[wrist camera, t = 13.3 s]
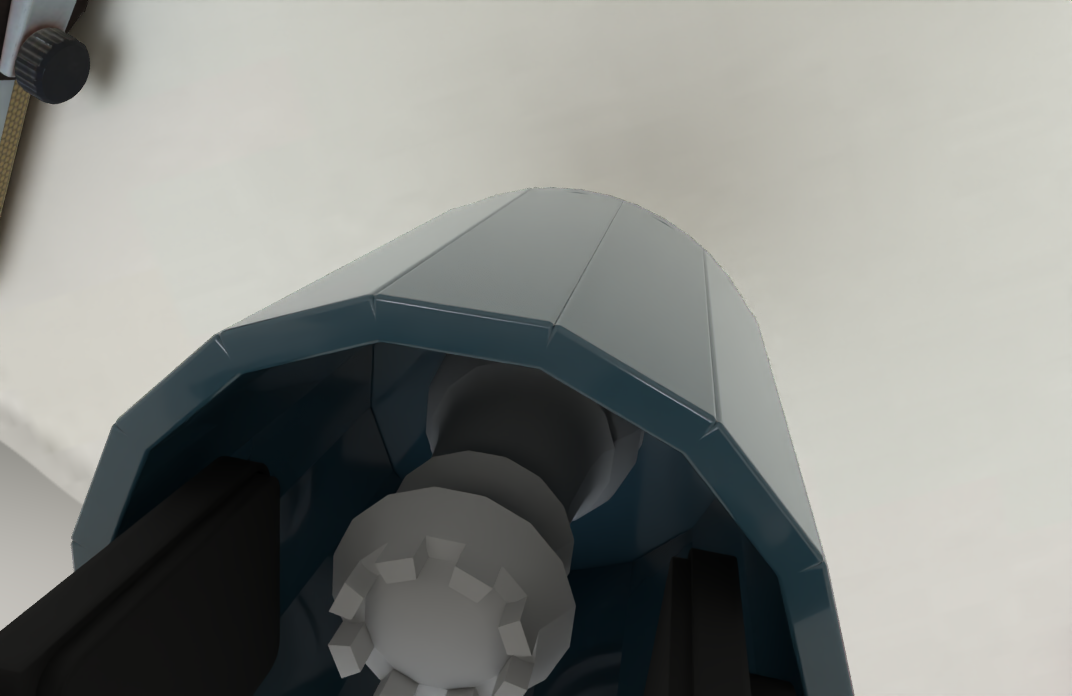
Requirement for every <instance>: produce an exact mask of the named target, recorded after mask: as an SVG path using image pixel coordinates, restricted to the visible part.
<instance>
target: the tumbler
mask: <svg viewBox="0 0 1072 696" xmlns="http://www.w3.org/2000/svg"><path fill="white" fill-rule="evenodd" d="M446 354H452V355H458V356H464V357H470V358H475V359H481V360H487V361H493V362H499V363H505V364H510V365H516V366H522V367H528V368H534V369H539V370H541V371H543V372H544V373H546V374H548V375H550V376H551V377H553V378H555V379H556V380H558V381H560V382H561V383H563V384H565V385H566V386H568V387H570V388H572V389H573V390H575V391H577V392H578V393H580V394H582V395H583V396H585V397H587V398H588V399H590V400H592V401H594V402H595V403H597V404H599V405H600V406H602V407H604V408H605V409H607V410H609V411H610V412H612V413H614V414H615V415H617V416H619V417H621V418H622V419H624V420H626V421H627V422H629V423H631V424H632V425H634V426H636V427H637V428H639V429H641V430H643V431H644V436H643V441H642V445H641V447H640V448H639V450H638V454H637V460H636V463H635V465H634V466H633V468H632V469H631V471H630V472H629V473H628V475H627V476H626V478H625V479H624V481H623V482H622V483H621V485H620V486H619V488H618V489H617V491H616V492H615V494H614V495H613V496H612V497H611V498H610V499H609V500H608V501H607V502H605V503H603V504H602V505H600V506H598V507H597V508H595V509H593V510H592V511H590V512H588V513H587V514H585V515H584V516H582V517H580V518H579V519H577V520H575V521H572V522H571V523H570V528H571V531H572V534H573V538H574V546H573V553H572V559H571V566H570V573H569V574H568V576H567V578H568V582H569V585H570V588H571V591H572V595H573V598H574V601H575V604H576V608H575V615H574V621H573V628H572V634H571V641H570V647H569V648H568V650H567V651H566V652H565V654H564V655H563V657H562V658H561V659H560V661H559V662H558V663H557V665H556V666H555V667H554V669H553V670H552V671H551V673H550V674H549V675H548V677H547V678H546V679H545V680H544V681H542V682H540V683H538V684H536V685H534V686H532V687H530V688H528V689H527V691H526V693H525V694H524V695H523V696H644V691H645V686H646V681H647V676H648V671H649V666H650V661H651V656H652V651H653V646H654V641H655V636H656V631H657V626H658V621H659V616H660V611H661V606H662V601H663V596H664V591H665V586H666V581H667V576H668V571H669V566H670V561H671V558H672V556H675V557H680V558H685V559H688V555H689V551H690V549H691V548H696V549H701V550H706V551H711V552H716V553H721V554H727V555H732V556H735V557H737V562H738V572H739V581H740V591H741V601H742V610H743V620H744V630H745V639H746V649H747V658H748V668H749V673H752V674H757V675H762V676H766V677H771V678H776V679H780V680H785V681H789V682H791V683H792V684H793V686H794V688H795V692H796V695H797V696H855V695H854V690H853V685H852V681H851V676H850V671H849V666H848V661H847V656H846V652H845V647H844V642H843V637H842V632H841V627H840V622H839V618H838V613H837V608H836V603H835V598H834V593H833V588H832V584H831V579H830V574H829V569H828V565H827V561H826V558H825V554H824V551H823V547H822V544H821V540H820V537H819V533H818V530H817V526H816V523H815V519H814V516H813V512H812V509H811V505H810V502H809V498H808V495H807V491H806V488H805V484H804V481H803V477H802V474H801V470H800V467H799V463H798V460H797V456H796V453H795V449H794V446H793V442H792V439H791V435H790V432H789V429H788V425H787V422H786V418H785V415H784V411H783V408H782V404H781V401H780V397H779V394H778V390H777V387H776V383H775V380H774V376H773V373H772V369H771V366H770V362H769V359H768V355H767V352H766V348H765V345H764V341H763V338H762V334H761V331H760V327H759V324H758V322H757V320H756V317H755V316H754V315H753V313H752V312H751V310H750V309H749V308H748V306H747V305H746V302H745V301H744V299H743V297H742V296H741V294H740V293H739V291H738V289H737V288H736V286H735V285H734V283H733V282H732V280H731V278H730V277H729V276H728V274H727V273H726V272H725V271H724V270H723V269H722V267H721V266H720V265H719V264H718V263H717V261H716V260H715V259H714V258H713V257H712V256H711V254H709V253H708V252H707V250H705V249H704V248H703V247H702V246H701V245H699V244H698V243H697V242H696V241H695V240H694V239H693V238H692V237H691V236H690V235H688V234H687V233H685V232H684V231H682V230H681V229H679V228H678V227H676V226H675V225H674V224H672V223H671V222H669V221H668V220H666V219H665V218H663V217H661V216H659V215H657V214H655V213H653V212H651V211H649V210H647V209H645V208H643V207H641V206H639V205H637V204H634V203H631V202H628V201H625V200H622V199H620V198H617V197H614V196H611V195H606V194H602V193H597V192H592V191H587V190H582V189H570V188H556V187H549V188H537V187H535V188H527V189H522V190H517V191H512V192H507V193H502V194H497V195H494V196H491V197H488V198H485V199H483V200H480V201H477V202H474V203H471V204H468V205H464V206H461V207H457V208H453V209H450V210H448V211H447V212H444V213H443V214H441V215H439V216H437V217H435V218H433V219H431V220H429V221H428V222H426V223H424V224H422V225H420V226H418V227H416V228H414V229H412V230H411V231H409V232H407V233H405V234H403V235H401V236H399V237H397V238H395V239H394V240H392V241H390V242H388V243H386V244H384V245H382V246H380V247H379V248H377V249H375V250H373V251H371V252H369V253H367V254H365V255H363V256H362V257H360V258H358V259H356V260H354V261H352V262H350V263H348V264H346V265H345V266H343V267H341V268H339V269H337V270H335V271H333V272H331V273H330V274H328V275H326V276H324V277H322V278H320V279H318V280H316V281H314V282H313V283H311V284H309V285H307V286H305V287H303V288H301V289H299V290H297V291H296V292H294V293H292V294H290V295H288V296H286V297H284V298H282V299H281V300H279V301H277V302H275V303H273V304H271V305H269V306H267V307H265V308H264V309H262V310H260V311H258V312H256V313H254V314H252V315H250V316H248V317H247V318H245V319H243V320H241V321H239V322H237V323H235V324H233V325H232V326H230V327H228V328H226V329H224V330H222V331H220V332H218V333H216V334H215V335H213V336H212V337H211V338H210V339H209V340H207V341H206V342H205V343H204V344H203V345H202V346H201V347H199V348H198V349H197V350H196V351H195V352H194V353H193V354H191V355H190V356H189V357H188V358H187V359H186V360H185V361H183V362H182V363H181V364H180V365H179V366H178V367H176V368H175V369H174V370H173V371H172V372H171V373H170V374H168V375H167V376H166V377H165V378H164V379H163V380H162V381H160V382H159V383H158V384H157V385H156V386H155V387H153V388H152V389H151V390H150V391H149V392H148V393H147V394H145V395H144V396H143V397H142V398H141V399H140V400H139V401H137V402H136V403H135V404H134V405H133V406H132V407H131V408H129V409H128V410H127V411H126V412H125V413H124V414H122V415H121V416H120V417H119V418H118V419H117V421H116V423H115V424H114V425H113V426H112V428H111V430H110V433H109V436H108V439H107V441H106V444H105V447H104V449H103V452H102V455H101V458H100V460H99V463H98V466H97V468H96V471H95V474H94V477H93V479H92V482H91V485H90V488H89V490H88V493H87V496H86V498H85V501H84V504H83V507H82V509H81V512H80V515H79V517H78V520H77V523H76V526H75V528H74V531H73V534H72V537H71V539H72V540H73V541H72V543H71V549H72V559H73V569H74V572H75V571H76V570H77V569H79V568H80V567H81V566H82V565H84V564H85V563H86V562H87V561H89V560H90V559H91V558H92V557H94V556H95V555H96V554H97V553H99V552H100V551H101V550H102V549H104V548H105V547H106V546H107V545H109V544H110V543H111V542H112V541H114V540H115V539H116V538H117V537H119V536H120V535H121V534H122V533H124V532H125V531H126V530H127V529H129V528H130V527H131V526H132V525H134V524H135V523H136V522H137V521H139V520H140V519H141V518H142V517H144V516H145V515H146V514H147V513H149V512H150V511H151V510H152V509H154V508H155V507H156V506H157V505H159V504H160V503H161V502H162V501H164V500H165V499H166V498H167V497H169V496H170V495H171V494H172V493H174V492H175V491H176V490H177V489H179V488H180V487H181V486H182V485H184V484H185V483H186V482H187V481H189V480H190V479H191V478H192V477H194V476H195V475H196V474H197V473H199V472H200V471H201V470H202V469H204V468H205V467H206V466H207V465H209V464H210V463H211V462H212V461H214V460H215V459H216V458H218V457H220V456H230V457H235V458H240V459H245V460H250V461H255V462H260V463H264V464H265V465H266V466H267V467H268V470H269V474H270V476H274V477H276V478H277V479H278V481H279V484H280V643H279V649H278V654H277V657H276V660H275V662H274V664H273V666H272V668H271V670H270V671H269V673H268V674H267V676H266V677H265V679H264V680H263V681H262V683H261V684H260V686H259V687H258V689H257V690H256V691H255V693H254V694H253V696H373V695H374V693H375V691H376V689H377V687H378V685H379V683H380V681H381V680H380V679H379V678H378V677H377V676H376V675H375V674H374V672H373V671H372V670H371V669H370V668H369V667H368V666H367V665H366V664H365V665H364V667H363V668H362V670H361V672H359V673H356V674H353V675H350V676H347V677H344V678H341V676H340V673H339V671H338V668H337V666H336V664H335V661H334V659H333V656H332V654H331V651H330V649H329V647H328V644H329V642H330V641H331V639H332V638H333V636H334V635H335V633H336V631H337V630H338V628H339V627H340V625H341V624H342V622H343V620H342V618H341V616H339V615H336V614H334V613H331V612H329V610H330V608H331V606H332V605H333V603H334V598H333V596H332V591H333V555H334V553H335V551H336V549H337V547H338V545H339V544H340V542H341V540H342V538H343V536H344V534H345V532H346V531H347V529H348V527H349V525H350V523H351V521H352V519H354V518H355V517H357V516H358V515H359V514H361V513H362V512H364V511H365V510H367V509H368V508H370V507H371V506H373V505H374V504H375V503H377V502H378V501H380V500H381V499H383V498H384V497H386V496H387V495H390V494H396V492H397V490H398V489H399V487H400V485H401V483H402V481H403V480H404V478H405V476H406V475H408V474H409V473H411V472H412V471H413V470H415V469H416V468H418V467H419V466H421V465H422V464H424V463H425V462H427V461H428V460H429V459H431V457H432V455H433V454H432V451H431V448H430V447H431V446H430V443H429V440H428V437H427V434H426V422H427V408H428V394H429V386H430V384H431V382H432V380H433V378H434V376H435V375H436V373H437V371H438V369H439V367H440V365H441V364H442V362H443V360H444V358H445V356H446Z"/></svg>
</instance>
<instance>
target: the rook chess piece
mask: <svg viewBox="0 0 1072 696" xmlns="http://www.w3.org/2000/svg"><path fill="white" fill-rule="evenodd" d="M426 434H427V437H428V440H429V443H430V446H431V447H430V448H431V451H432V454H433V455H432V457H431V459H429V460H428V461H427V462H425V463H424V464H422V465H421V466H419V467H418V468H416V469H415V470H413V471H412V472H411V473H409V474H408V475H406V476H405V478H404V480H403V481H402V483H401V485H400V487H399V489H398V490H397V492H396V494H390V495H387V496H386V497H384V498H383V499H381V500H380V501H378V502H377V503H375V504H374V505H373V506H371V507H370V508H368V509H367V510H365V511H364V512H362V513H361V514H359V515H358V516H357V517H355V518H354V519H352V521H351V523H350V525H349V527H348V529H347V531H346V532H345V534H344V536H343V538H342V540H341V542H340V544H339V545H338V547H337V549H336V551H335V553H334V555H333V591H332V596H333V598H334V603H333V605H332V606H331V608H330V610H329V612H331V613H334V614H336V615H339V616H341V618H342V620H343V622H342V624H341V625H340V627H339V628H338V630H337V631H336V633H335V635H334V636H333V638H332V639H331V641H330V642H329V644H328V647H329V649H330V651H331V654H332V656H333V659H334V661H335V664H336V666H337V668H338V671H339V673H340V676H341V678H344V677H347V676H350V675H353V674H356V673H359V672H361V670H362V668H363V667H364V665H365V664H366V665H367V666H368V667H369V668H370V669H371V670H372V671H373V672H374V674H375V675H376V676H377V677H378V678H379V679H380V680H381V681H380V683H379V685H378V687H377V689H376V691H375V693H374V695H373V696H523V695H524V694H525V693H526V691H527V689H528V688H530V687H532V686H534V685H536V684H538V683H540V682H542V681H544V680H545V679H546V678H547V677H548V675H549V674H550V673H551V671H552V670H553V669H554V667H555V666H556V665H557V663H558V662H559V661H560V659H561V658H562V657H563V655H564V654H565V652H566V651H567V650H568V648H569V647H570V641H571V634H572V628H573V621H574V615H575V608H576V604H575V601H574V598H573V595H572V591H571V588H570V585H569V582H568V578H567V576H568V574H569V573H570V566H571V559H572V553H573V546H574V538H573V534H572V531H571V528H570V523H571V522H572V521H575V520H577V519H579V518H580V517H582V516H584V515H585V514H587V513H588V512H590V511H592V510H593V509H595V508H597V507H598V506H600V505H602V504H603V503H605V502H607V501H608V500H609V499H610V498H611V497H612V496H613V495H614V494H615V492H616V491H617V489H618V488H619V486H620V485H621V483H622V482H623V481H624V479H625V478H626V476H627V475H628V473H629V472H630V471H631V469H632V468H633V466H634V465H635V463H636V460H637V454H638V450H639V448H640V447H641V445H642V441H643V436H644V431H643V430H641V429H639V428H637V427H636V426H634V425H632V424H631V423H629V422H627V421H626V420H624V419H622V418H621V417H619V416H617V415H615V414H614V413H612V412H610V411H609V410H607V409H605V408H604V407H602V406H600V405H599V404H597V403H595V402H594V401H592V400H590V399H588V398H587V397H585V396H583V395H582V394H580V393H578V392H577V391H575V390H573V389H572V388H570V387H568V386H566V385H565V384H563V383H561V382H560V381H558V380H556V379H555V378H553V377H551V376H550V375H548V374H546V373H544V372H543V371H541V370H539V369H534V368H528V367H522V366H516V365H510V364H505V363H499V362H493V361H487V360H481V359H475V358H470V357H464V356H458V355H452V354H446V356H445V358H444V360H443V362H442V364H441V365H440V367H439V369H438V371H437V373H436V375H435V376H434V378H433V380H432V382H431V384H430V386H429V394H428V408H427V422H426Z"/></svg>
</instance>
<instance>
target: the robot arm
mask: <svg viewBox="0 0 1072 696" xmlns="http://www.w3.org/2000/svg"><path fill="white" fill-rule="evenodd" d="M279 643H280V484H279V481H278V479H277V478H276V477H274V476H270V474H269V470H268V467H267V466H266V465H265V464H264V463H260V462H255V461H250V460H245V459H240V458H235V457H230V456H220V457H218V458H216V459H215V460H214V461H212V462H211V463H210V464H209V465H207V466H206V467H205V468H204V469H202V470H201V471H200V472H199V473H197V474H196V475H195V476H194V477H192V478H191V479H190V480H189V481H187V482H186V483H185V484H184V485H182V486H181V487H180V488H179V489H177V490H176V491H175V492H174V493H172V494H171V495H170V496H169V497H167V498H166V499H165V500H164V501H162V502H161V503H160V504H159V505H157V506H156V507H155V508H154V509H152V510H151V511H150V512H149V513H147V514H146V515H145V516H144V517H142V518H141V519H140V520H139V521H137V522H136V523H135V524H134V525H132V526H131V527H130V528H129V529H127V530H126V531H125V532H124V533H122V534H121V535H120V536H119V537H117V538H116V539H115V540H114V541H112V542H111V543H110V544H109V545H107V546H106V547H105V548H104V549H102V550H101V551H100V552H99V553H97V554H96V555H95V556H94V557H92V558H91V559H90V560H89V561H87V562H86V563H85V564H84V565H82V566H81V567H80V568H79V569H77V570H76V571H75V572H74V573H73V574H71V575H70V576H69V577H67V578H66V579H65V580H64V581H63V582H61V583H60V584H59V585H57V586H56V587H55V588H54V589H52V590H51V591H50V592H49V593H47V594H46V595H45V596H44V597H42V598H41V599H40V600H39V601H37V602H36V603H35V604H34V605H32V606H31V607H30V608H29V609H27V610H26V611H25V612H24V613H22V614H21V615H20V616H19V617H18V618H16V619H15V620H14V621H12V622H11V623H10V624H9V625H7V626H6V627H5V628H4V629H2V630H1V631H0V696H253V694H254V693H255V691H256V690H257V689H258V687H259V686H260V684H261V683H262V681H263V680H264V679H265V677H266V676H267V674H268V673H269V671H270V670H271V668H272V666H273V664H274V662H275V660H276V657H277V654H278V649H279ZM644 696H797V695H796V692H795V688H794V686H793V684H792V683H791V682H789V681H785V680H780V679H776V678H771V677H766V676H762V675H757V674H752V673H749V668H748V658H747V649H746V639H745V630H744V620H743V610H742V601H741V591H740V581H739V572H738V562H737V557H735V556H732V555H727V554H721V553H716V552H711V551H706V550H701V549H696V548H691V549H690V551H689V555H688V559H685V558H680V557H675V556H672V558H671V561H670V566H669V571H668V576H667V581H666V586H665V591H664V596H663V601H662V606H661V611H660V616H659V621H658V626H657V631H656V636H655V641H654V646H653V651H652V656H651V661H650V666H649V671H648V676H647V681H646V686H645V691H644Z"/></svg>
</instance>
